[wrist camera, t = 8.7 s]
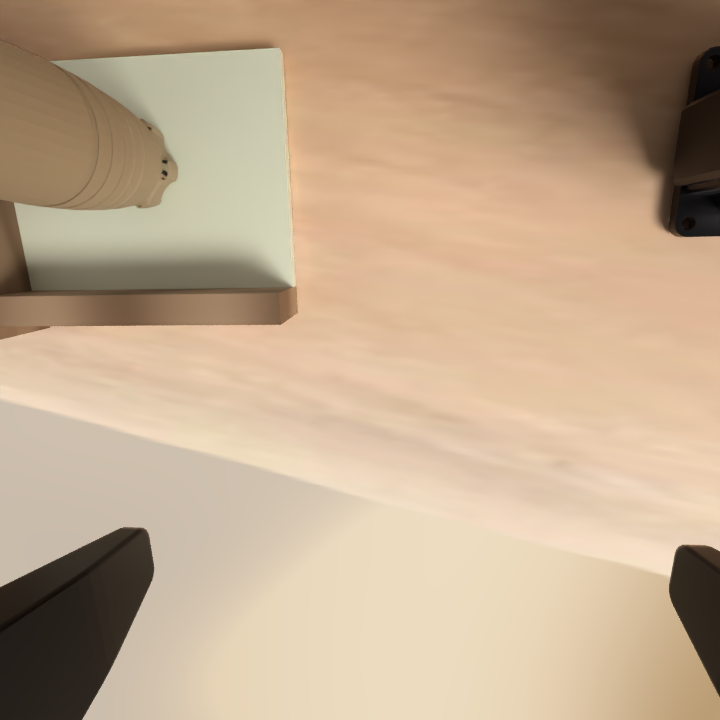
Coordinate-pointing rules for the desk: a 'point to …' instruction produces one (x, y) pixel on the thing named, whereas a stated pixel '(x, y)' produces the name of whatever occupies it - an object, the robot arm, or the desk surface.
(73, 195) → the handle
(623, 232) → the desk surface
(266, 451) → the desk surface
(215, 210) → the pad
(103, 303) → the walls
